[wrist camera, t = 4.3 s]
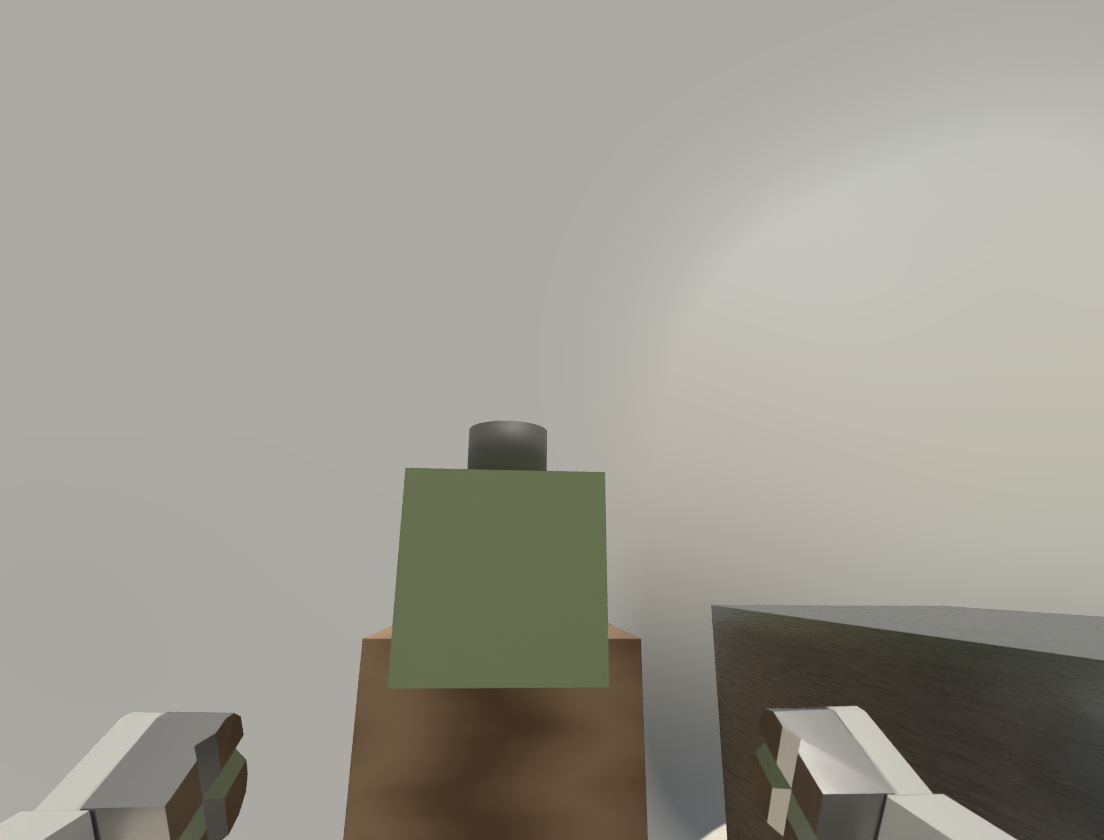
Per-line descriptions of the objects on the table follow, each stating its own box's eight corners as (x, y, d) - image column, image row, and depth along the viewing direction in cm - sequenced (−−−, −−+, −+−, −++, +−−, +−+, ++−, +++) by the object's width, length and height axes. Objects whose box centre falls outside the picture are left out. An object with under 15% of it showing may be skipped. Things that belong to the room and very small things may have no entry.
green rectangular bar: (387, 688, 10) (409, 410, 11) (467, 615, 28) (471, 513, 29) (609, 687, 10) (603, 415, 11) (545, 616, 28) (546, 514, 30)
